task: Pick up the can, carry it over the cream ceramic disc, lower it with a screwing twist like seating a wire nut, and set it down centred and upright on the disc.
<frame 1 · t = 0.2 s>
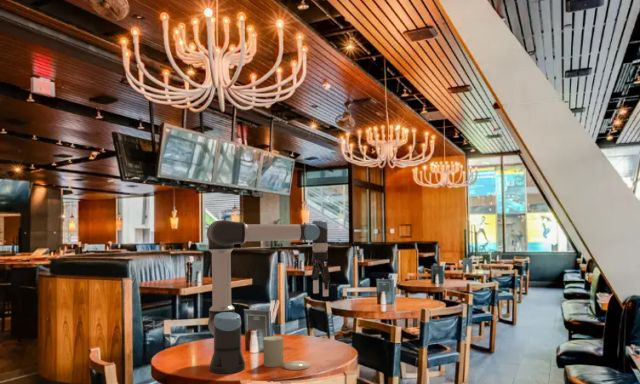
hand: (320, 294, 254), 28 cm above the table, fingers open, 13 cm apart
can: (273, 364, 230), on the table
disc: (296, 366, 226), on the table
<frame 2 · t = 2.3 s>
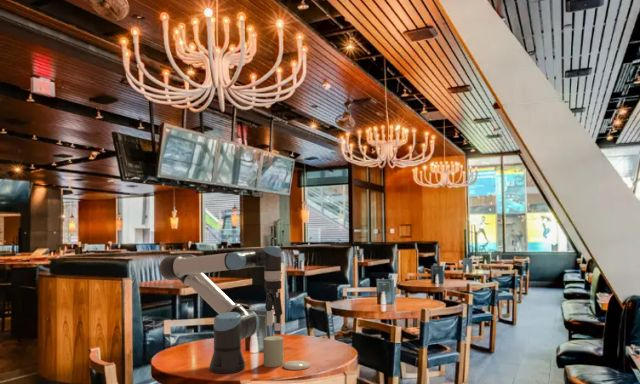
hand: (273, 328, 231), 16 cm above the table, fingers open, 13 cm apart
nothing on the table moved.
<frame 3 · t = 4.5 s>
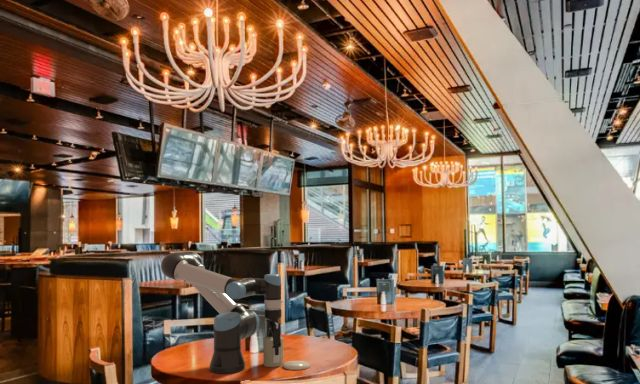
hand: (273, 359, 230), 2 cm above the table, fingers closed on can, 9 cm apart
can: (273, 364, 230), on the table, touching gripper
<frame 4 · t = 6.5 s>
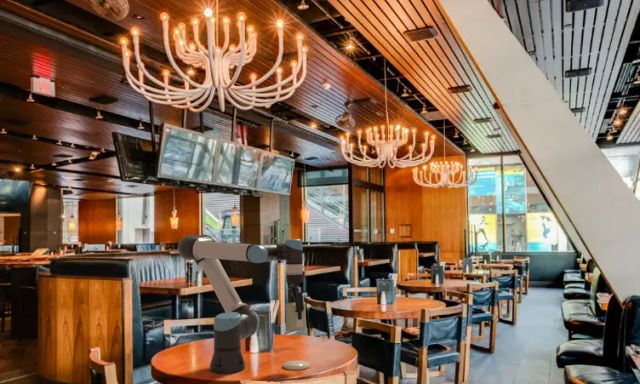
hand: (295, 325, 227), 18 cm above the table, fingers closed on can, 9 cm apart
can: (296, 330, 227), point 16 cm above the table, touching gripper
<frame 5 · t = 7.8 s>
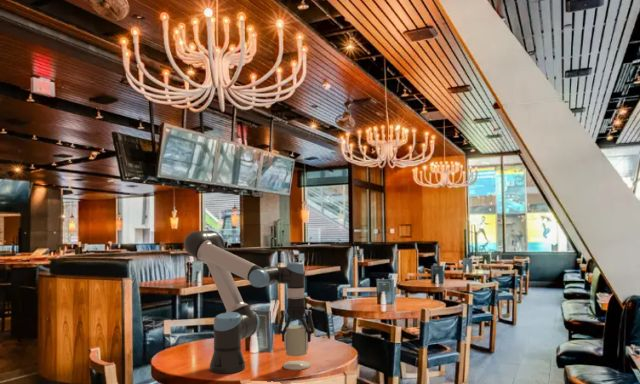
hand: (296, 349, 226), 7 cm above the table, fingers closed on can, 9 cm apart
can: (296, 354, 226), point 5 cm above the table, touching gripper
when the fingers open (4 cm above the table, at t = 8.9 s): can drops 1 cm, resting on disc.
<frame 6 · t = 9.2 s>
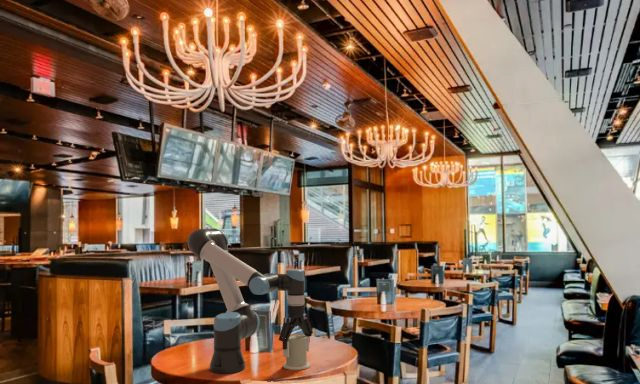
hand: (296, 354, 226), 5 cm above the table, fingers open, 12 cm apart
can: (296, 364, 226), point 1 cm above the table, touching disc
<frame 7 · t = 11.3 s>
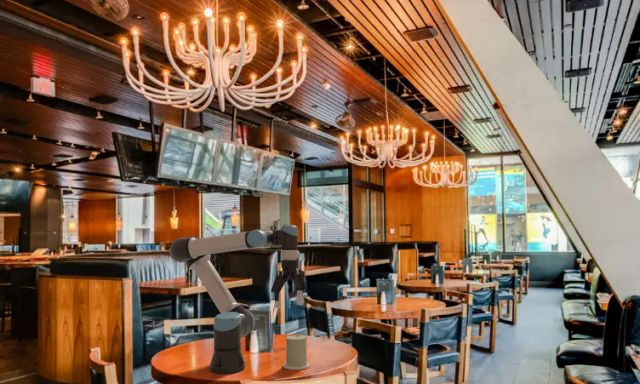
hand: (289, 306, 232), 25 cm above the table, fingers open, 13 cm apart
nothing on the table moved.
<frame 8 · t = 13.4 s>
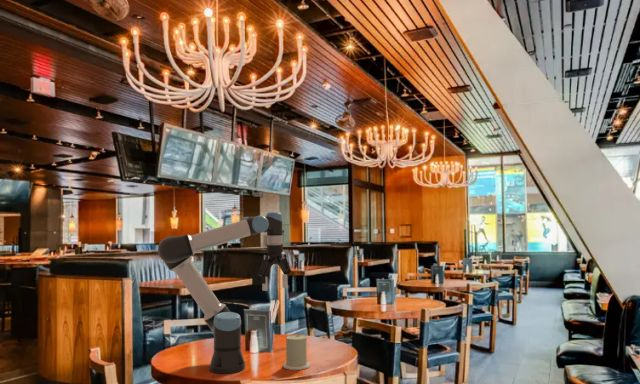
hand: (275, 289, 245), 32 cm above the table, fingers open, 13 cm apart
nothing on the table moved.
at the end: can 0.1 cm from the disc (horizontally); can tilted 0°; can point 0.8 cm above the table; can touching disc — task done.
